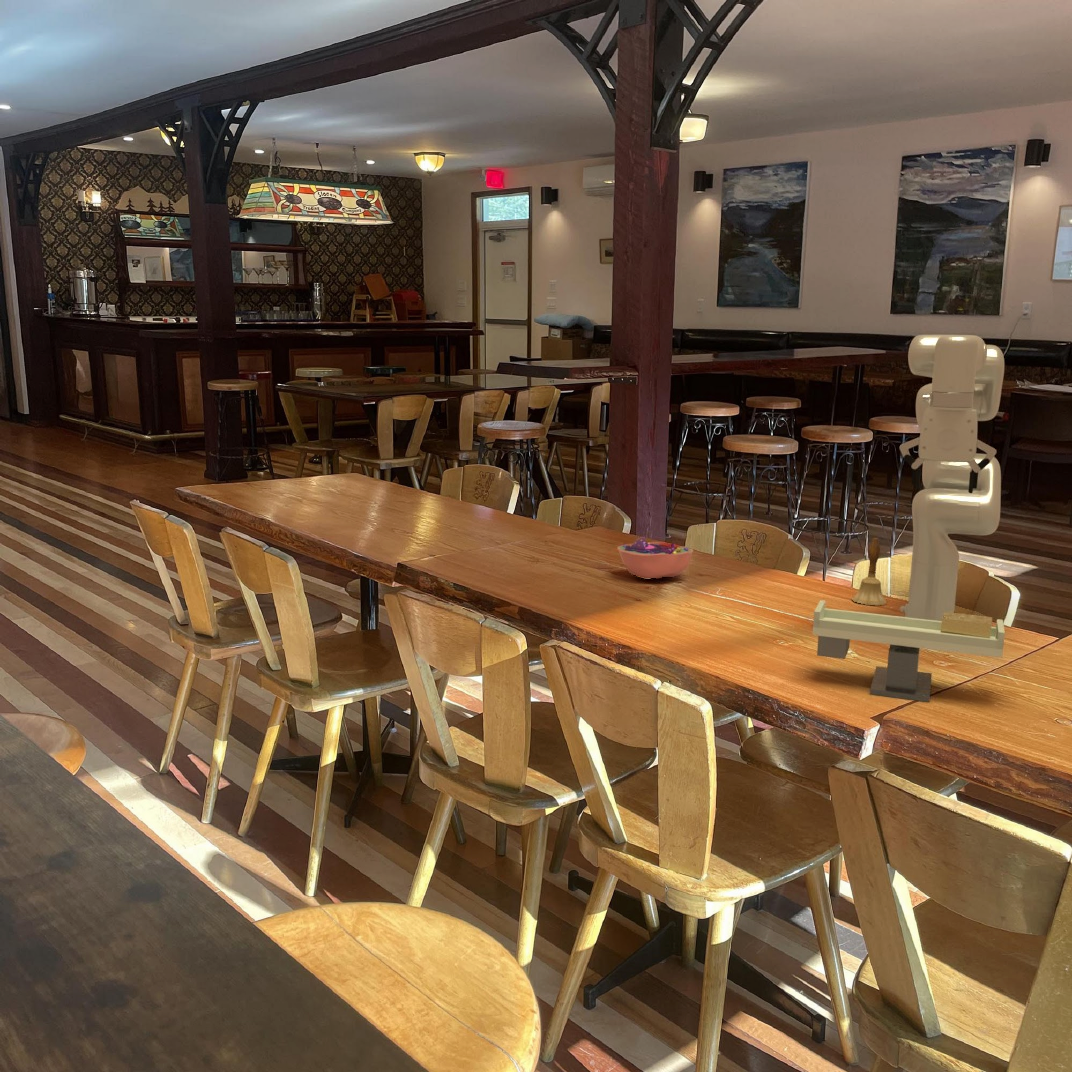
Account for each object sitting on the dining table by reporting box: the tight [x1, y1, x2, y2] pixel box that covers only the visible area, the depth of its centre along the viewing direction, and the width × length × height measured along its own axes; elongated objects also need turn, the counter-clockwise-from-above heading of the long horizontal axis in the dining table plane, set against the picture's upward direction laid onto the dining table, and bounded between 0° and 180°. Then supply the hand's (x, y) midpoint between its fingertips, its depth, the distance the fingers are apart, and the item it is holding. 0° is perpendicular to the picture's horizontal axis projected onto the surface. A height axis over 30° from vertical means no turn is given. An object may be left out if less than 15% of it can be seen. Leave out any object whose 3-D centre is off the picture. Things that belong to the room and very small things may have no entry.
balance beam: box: [812, 599, 1006, 660], centre depth 184 cm, size 32×9×8 cm, turn 67°
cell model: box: [616, 536, 694, 579], centre depth 266 cm, size 17×20×11 cm
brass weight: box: [941, 611, 993, 638], centre depth 179 cm, size 8×5×4 cm, turn 64°
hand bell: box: [851, 537, 888, 607], centre depth 245 cm, size 8×8×16 cm
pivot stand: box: [869, 644, 933, 703], centre depth 185 cm, size 10×14×8 cm
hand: (943, 490), depth 195 cm, fingers open, 9 cm apart
